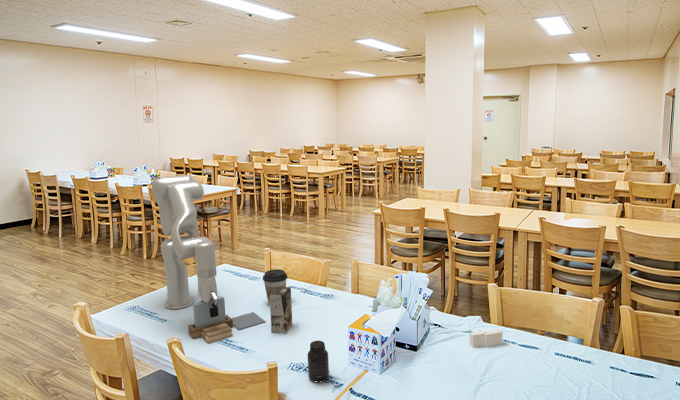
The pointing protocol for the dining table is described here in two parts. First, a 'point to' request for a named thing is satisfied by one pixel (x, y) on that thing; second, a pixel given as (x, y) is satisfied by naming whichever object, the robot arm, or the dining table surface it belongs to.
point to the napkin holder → (486, 338)
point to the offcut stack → (216, 333)
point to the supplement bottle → (318, 361)
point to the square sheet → (208, 313)
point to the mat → (247, 321)
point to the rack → (198, 331)
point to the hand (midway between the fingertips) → (210, 312)
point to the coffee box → (281, 309)
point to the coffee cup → (274, 281)
